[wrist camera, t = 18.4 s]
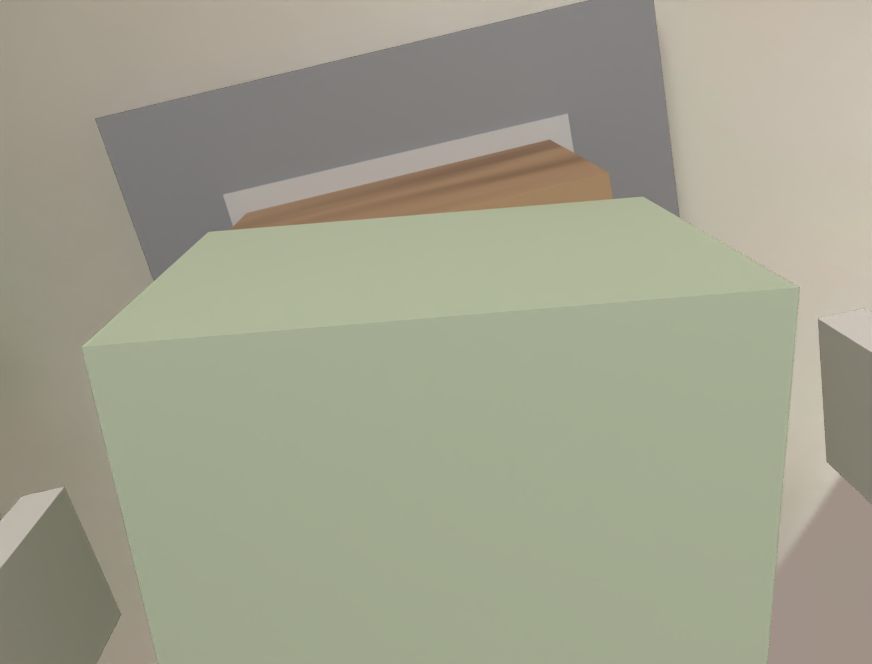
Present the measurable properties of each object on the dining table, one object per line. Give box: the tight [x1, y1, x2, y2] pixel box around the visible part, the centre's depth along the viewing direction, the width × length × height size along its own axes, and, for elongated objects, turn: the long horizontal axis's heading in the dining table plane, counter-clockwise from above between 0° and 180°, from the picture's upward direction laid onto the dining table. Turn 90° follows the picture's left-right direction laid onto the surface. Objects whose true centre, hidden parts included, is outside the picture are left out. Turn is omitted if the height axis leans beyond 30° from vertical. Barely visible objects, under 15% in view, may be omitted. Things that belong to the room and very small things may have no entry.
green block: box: [82, 197, 800, 664], centre depth 13 cm, size 8×8×6 cm
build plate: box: [95, 0, 679, 281], centre depth 22 cm, size 14×14×1 cm
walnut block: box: [230, 140, 613, 230], centre depth 19 cm, size 8×8×6 cm
